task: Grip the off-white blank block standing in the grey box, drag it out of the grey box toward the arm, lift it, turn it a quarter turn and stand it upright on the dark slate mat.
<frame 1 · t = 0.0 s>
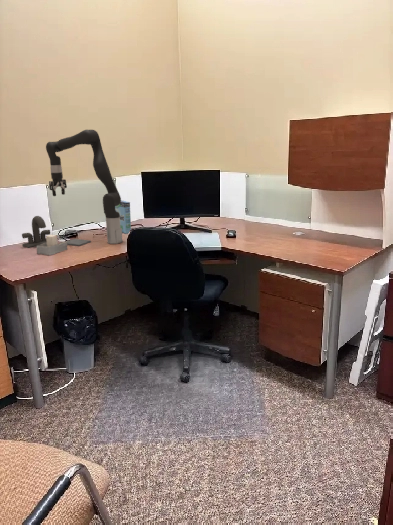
hand: (59, 195, 292), 29 cm above the table, tool pointing down, fingers open, 8 cm apart
grey box: (53, 251, 262), on the table
gum box: (122, 231, 314), on the table
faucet: (40, 245, 275), on the table
mat: (77, 243, 280), on the table
blank: (52, 243, 260), in the grey box
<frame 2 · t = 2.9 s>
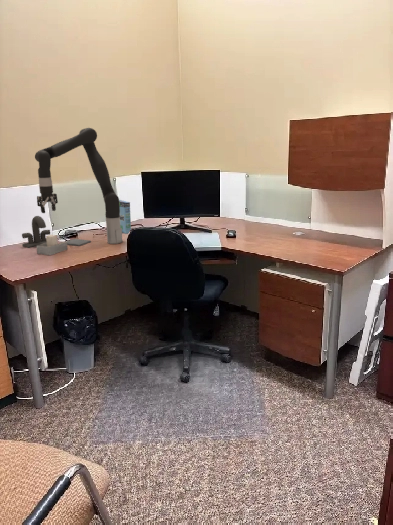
hand: (48, 211, 254), 25 cm above the table, tool pointing down, fingers open, 8 cm apart
nothing on the table moved.
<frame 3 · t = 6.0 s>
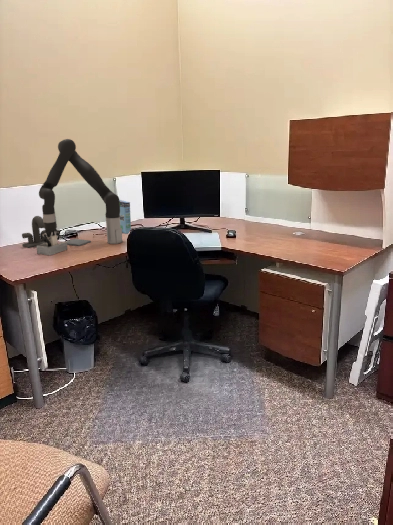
hand: (52, 247, 261), 2 cm above the table, tool pointing down, fingers closed on blank, 4 cm apart
blank: (52, 243, 260), in the grey box, touching gripper
everything else where it was.
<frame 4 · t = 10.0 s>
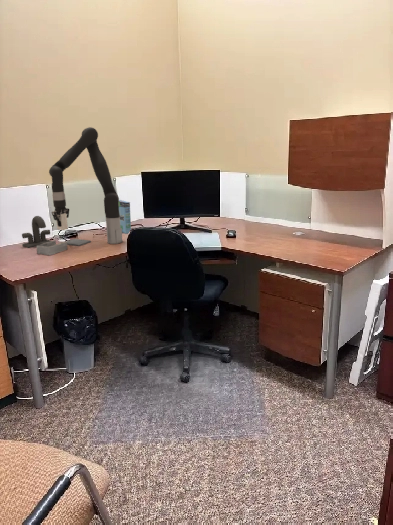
hand: (62, 225, 266), 14 cm above the table, tool pointing down, fingers closed on blank, 4 cm apart
blank: (61, 221, 265), point 17 cm above the table, touching gripper
everything else where it was.
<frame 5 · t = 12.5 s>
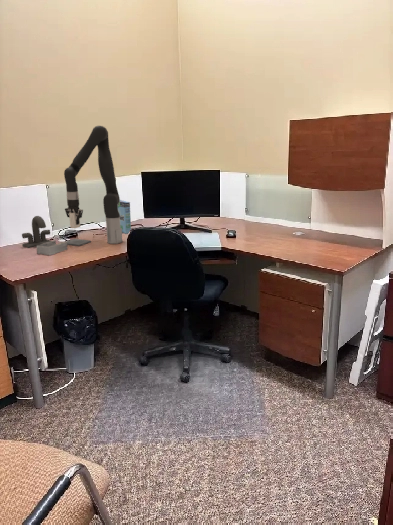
hand: (75, 224, 277), 13 cm above the table, tool pointing down, fingers closed on blank, 4 cm apart
blank: (74, 219, 276), point 16 cm above the table, touching gripper
everything else where it was.
when the fingers open (5 cm above the table, at t = 14.5 s): blank drops 1 cm, resting on mat.
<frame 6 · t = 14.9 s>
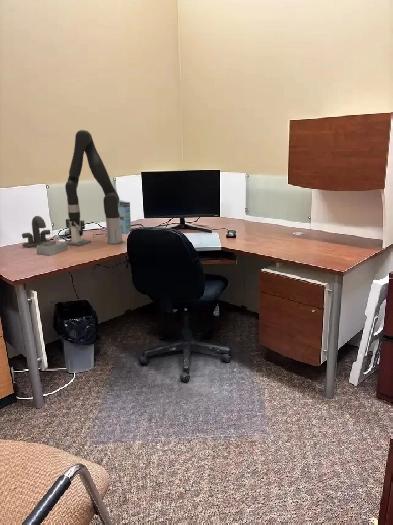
hand: (76, 235, 279), 6 cm above the table, tool pointing down, fingers open, 8 cm apart
blank: (76, 234, 279), on the mat, point 6 cm above the table
everything else where it was.
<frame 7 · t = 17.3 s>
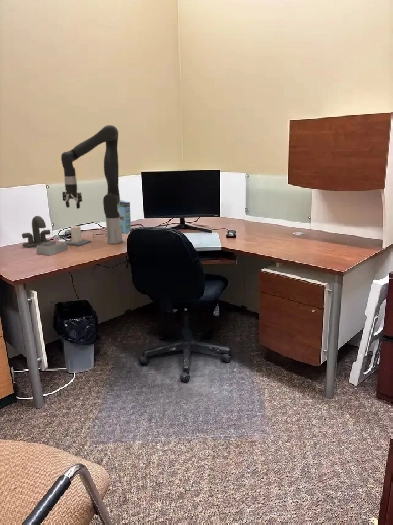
hand: (73, 207, 276), 23 cm above the table, tool pointing down, fingers open, 8 cm apart
nothing on the table moved.
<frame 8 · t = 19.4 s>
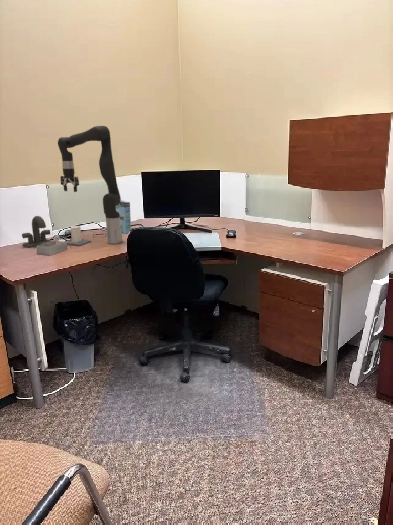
hand: (70, 191, 289), 32 cm above the table, tool pointing down, fingers open, 8 cm apart
nothing on the table moved.
at the end: blank inside the target area (0.1 cm from its centre), point 6.0 cm above the table; blank tilted 0°; the gripper is holding nothing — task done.
